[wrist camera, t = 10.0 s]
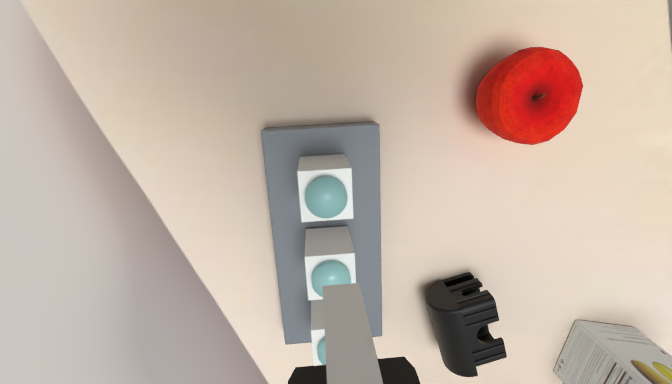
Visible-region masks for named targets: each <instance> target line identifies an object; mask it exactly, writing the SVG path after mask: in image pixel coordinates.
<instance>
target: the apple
mask: <svg viewBox="0 0 672 384" xmlns="http://www.w3.org/2000/svg"><path fill="white" fill-rule="evenodd" d="M582 88H583V84H582V81H581V77H580V74H579V71H578V69H577V68H576V66H575V65H574V64H573V62H572V61H571V60H570V59H569V58H568V57H567V56H566V55H564V54H563V53H562V52H560V51H559V50H554V49H549V48H544V47H531V48H526V49H522V50H519V51H517V52H515V53H514V54H512V55H510V56H508V57H506V58H504V59H503V60H502V61H500V62H499V63H498V64H496V65H495V66H494V67H493V68H491V69H490V70H489V72H488V73H487V74H486V75H485V77H484V78H483V79H482V80H481V82H480V84H479V86H478V90H477V96H476V109H477V113H478V115H479V118H480V121H481V122H482V123H483V124H484V125H485V126H486V127H487V128H488V129H489V130H490V131H492V132H493V133H495V134H496V135H498V136H500V137H501V138H503V139H505V140H509V141H512V142H516V143H521V144H530V145H534V144H538V143H542V142H545V141H549V140H550V139H551V138H553V137H554V136H556V135H557V134H559V133H560V132H561V131H563V130H564V129H565V128H566V127H567V125H568V124H569V122H570V121H571V119H572V118H573V117H574V115H575V114H576V112H577V108H578V104H579V100H580V96H581V92H582Z"/></svg>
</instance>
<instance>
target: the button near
mask: <svg viewBox="0 0 672 384" xmlns="http://www.w3.org/2000/svg"><path fill="white" fill-rule="evenodd" d="M297 176H298V187H299V199H300V210H301V222H313V221H327V220H341V219H353V194H352V168H351V166H350V164H349V162H348V160H347V157H346V155H345V154H335V155H319V156H303V157H300V159H299V164H298V170H297Z"/></svg>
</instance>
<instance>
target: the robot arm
mask: <svg viewBox="0 0 672 384" xmlns="http://www.w3.org/2000/svg"><path fill="white" fill-rule="evenodd" d="M322 287H323V308H324V329H325V351H326V365H317V366H306V367H296V368H295V370H294V372H293V373H292V375H291V377H290V379H289V381H288V384H420V381H419V379H418V376H417V373H416V370H415V368H414V367H413V366H412V365H411V364H410V363H409V362H408V360H407V359H406V358H405V357H396V358H384V359H377V355H376V351H375V347H374V343H373V338H372V334H371V330H370V326H369V321H368V317H367V313H366V309H365V304H364V300H363V296H362V292H361V287H360V283H352V284H339V285H326V286H322Z"/></svg>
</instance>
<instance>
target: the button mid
mask: <svg viewBox="0 0 672 384" xmlns="http://www.w3.org/2000/svg"><path fill="white" fill-rule="evenodd" d="M305 268H306V280H307V291H308V300H320V299H323V287H322V286H326V285H339V284H352V283H356V272H355V252H354V248H353V244H352V240H351V236H350V232H349V228H348V226H343V227H329V228H315V229H306V237H305Z"/></svg>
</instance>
